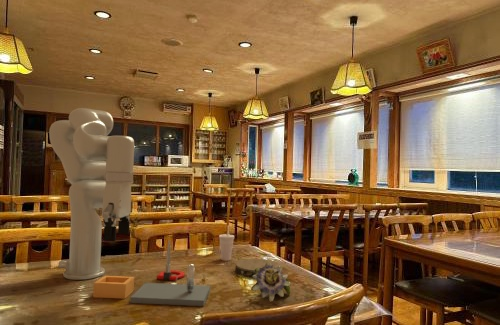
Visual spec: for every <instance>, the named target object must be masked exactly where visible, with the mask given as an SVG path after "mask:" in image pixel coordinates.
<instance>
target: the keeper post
mask: <svg viewBox="0 0 500 325" xmlns="http://www.w3.org/2000/svg"><path fill="white" fill-rule="evenodd" d="M186 268H187V271H186V272H187V273H186V274H187V275H186V285H187V291H188V292H192V291H193V289H194V285H195V265H194V264H193V263H189V264H187V267H186Z"/></svg>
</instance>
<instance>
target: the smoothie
mask: <svg viewBox="0 0 500 325" xmlns="http://www.w3.org/2000/svg"><path fill="white" fill-rule="evenodd" d="M218 239H219V246H220V256H221V258H220V259H221V260H222V261H225V262H226V261H227V262H228V261H230V260H232V252H233V247H234V239H235V235H233V234H230V225H229V224H228V225H227V234H226V233H224V234H219V236H218Z"/></svg>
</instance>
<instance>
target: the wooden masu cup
mask: <svg viewBox="0 0 500 325" xmlns="http://www.w3.org/2000/svg"><path fill="white" fill-rule="evenodd" d="M134 291H135V276H120V275H119V276H117V275H104V276H103V275H102V277H100V278H99V279H98V280H96V281H94V282H93V295H92V296H93V298H103V299H104V298H105V299H121V300H122V299H126V298H128V297H129V296H130V295H131V293H133V292H134Z"/></svg>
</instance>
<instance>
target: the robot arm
mask: <svg viewBox="0 0 500 325" xmlns="http://www.w3.org/2000/svg"><path fill="white" fill-rule="evenodd" d="M113 128H114V119H113V116H112V115H111V113H109V112H108V111H105V110H100V109H94V108H93V109H92V108H86V107H78V108H75V109H73V110H72V111H71V112H70V113H69V115H68V119H62V120H61V119H60V120H57V121H54V122H52V123H51V125H50V127H49V132H48V133H49V134H48V135H49V142H50V146H51V148H52V150H53V151H54V153H55V154H56V155H57V157H58V159H59V160H60V162H61V164H62V167H63V170H64V172H65V175H66V177H67V178H66V179H67V180H68V182H69V184H71V185H70V186H69V190H68V199H69V205H70V206H69V207H70V234H69V235H70V237H69V260H68V261H67V260H59V261H58V263H57V264H58V265H57V268H59V269H65V270H64V271H63V277H64V278H65V279H67V280H71V281H72V280H76V281H77V280H78V281H79V280H81V281H82V280H83V281H84V280H90V279H95V278H99V277H101V276H103V275H104V274H105V272H106V270H105V268H104V267H102V266H101V256H102V255H101V253H102V228H103V227H104V228H103V241H104V242H116V240H117V234H118V235H127V236H128V235H129V234H130V223H131V222H130V221H131V217H130V216H131V210H132V186H131V185H133V184H134V163H135V162H134V160H135V140H134V138H133V137H132V136H127V135H111V136H109V134H110V133H111V132H112V130H113ZM96 209H101V217H102V218H103V220H102V218H101V217H100V215H99V214H98V212H97V211H96ZM117 220H118V227H117V225H116V224H117ZM102 221H103V222H102ZM102 224H103V225H102ZM117 228H118V230H117Z"/></svg>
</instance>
